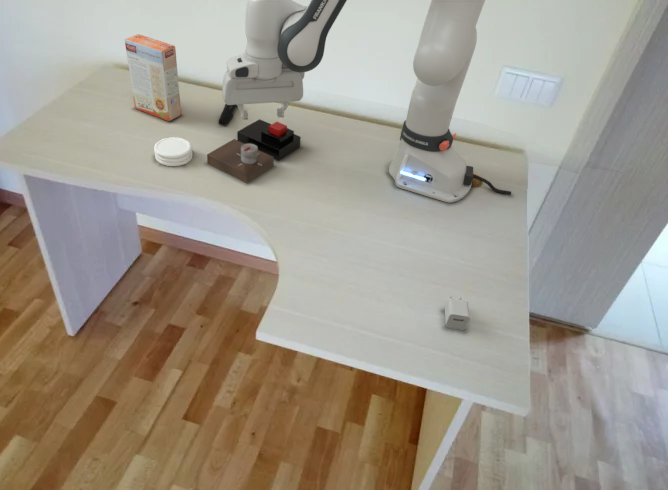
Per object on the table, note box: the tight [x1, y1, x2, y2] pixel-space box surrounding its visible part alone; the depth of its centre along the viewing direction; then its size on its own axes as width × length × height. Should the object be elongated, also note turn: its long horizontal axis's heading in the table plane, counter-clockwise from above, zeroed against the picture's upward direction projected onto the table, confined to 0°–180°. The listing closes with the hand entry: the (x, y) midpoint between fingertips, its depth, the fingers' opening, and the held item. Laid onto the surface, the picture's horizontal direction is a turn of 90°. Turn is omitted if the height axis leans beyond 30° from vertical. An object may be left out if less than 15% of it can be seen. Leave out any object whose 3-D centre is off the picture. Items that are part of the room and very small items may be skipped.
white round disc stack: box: [153, 136, 194, 167], centre depth 144 cm, size 10×10×4 cm
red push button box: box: [236, 119, 302, 162], centre depth 151 cm, size 15×10×6 cm, turn 54°
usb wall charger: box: [444, 295, 471, 331], centre depth 108 cm, size 4×7×4 cm, turn 171°
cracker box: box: [124, 34, 182, 122], centre depth 156 cm, size 14×6×21 cm, turn 58°
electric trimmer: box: [217, 103, 237, 126], centre depth 163 cm, size 4×16×3 cm, turn 171°
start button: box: [269, 121, 288, 136], centre depth 148 cm, size 4×4×2 cm
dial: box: [241, 144, 258, 164], centre depth 140 cm, size 4×4×4 cm
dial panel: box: [206, 138, 275, 184], centre depth 144 cm, size 14×11×3 cm
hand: (262, 117), depth 138 cm, fingers open, 8 cm apart
